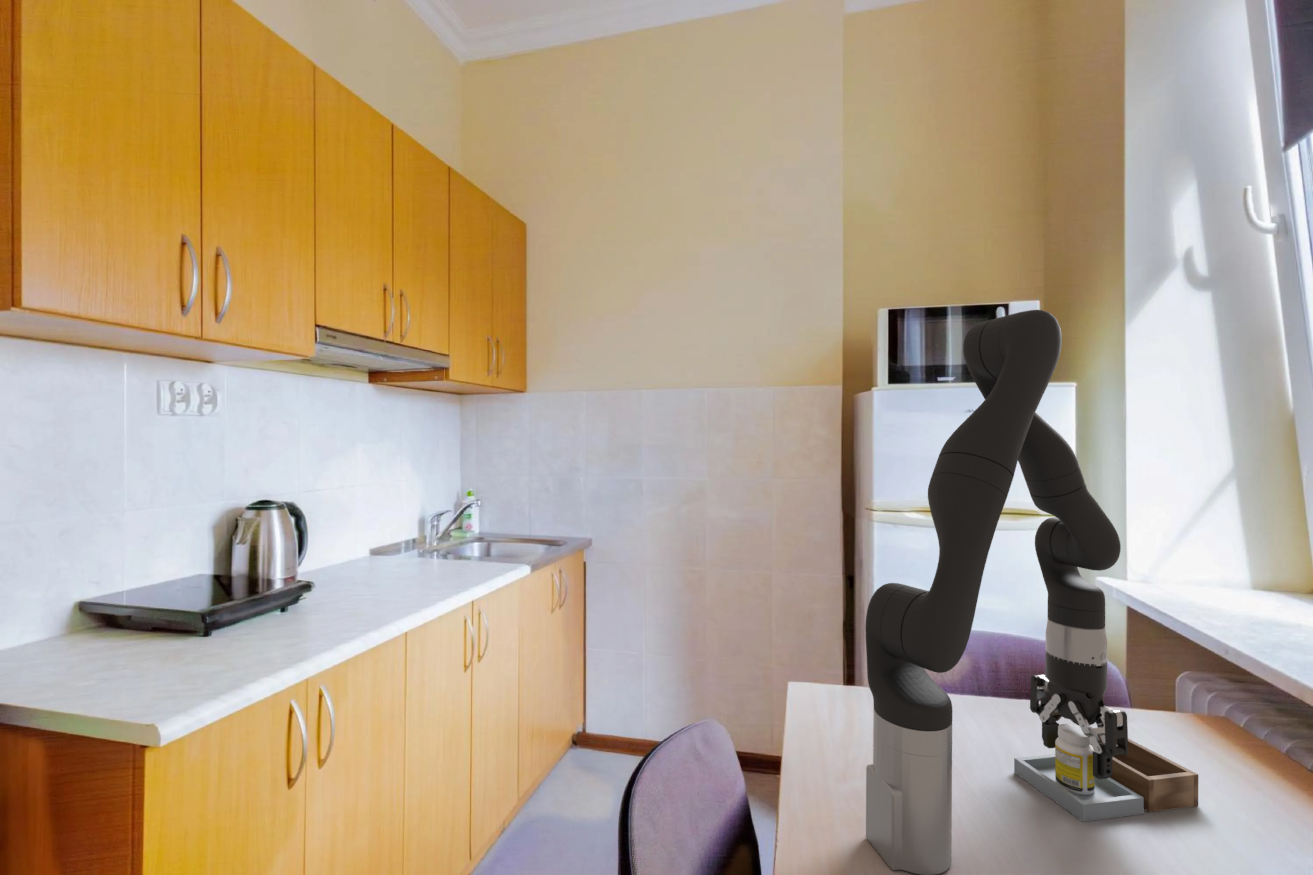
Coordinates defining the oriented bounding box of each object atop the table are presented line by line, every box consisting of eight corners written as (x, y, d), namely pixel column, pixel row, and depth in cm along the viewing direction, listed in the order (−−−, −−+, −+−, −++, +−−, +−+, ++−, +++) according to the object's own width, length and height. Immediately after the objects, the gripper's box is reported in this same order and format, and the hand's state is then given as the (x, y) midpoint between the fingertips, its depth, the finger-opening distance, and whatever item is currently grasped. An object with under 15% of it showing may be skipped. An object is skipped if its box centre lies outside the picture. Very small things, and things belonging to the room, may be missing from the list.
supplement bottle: (1081, 778, 88) (1081, 723, 88) (1102, 796, 84) (1102, 738, 84) (1048, 776, 89) (1048, 721, 89) (1067, 794, 84) (1067, 736, 84)
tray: (1083, 821, 79) (1083, 804, 79) (1014, 772, 91) (1014, 757, 91) (1143, 813, 81) (1143, 797, 81) (1068, 766, 93) (1068, 752, 93)
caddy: (1149, 811, 82) (1149, 780, 82) (1064, 759, 95) (1064, 732, 95) (1198, 805, 83) (1198, 774, 83) (1108, 755, 97) (1108, 728, 97)
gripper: (1016, 637, 93) (1015, 739, 93) (1099, 672, 79) (1098, 792, 79) (1055, 635, 94) (1055, 735, 94) (1144, 669, 80) (1144, 787, 80)
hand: (1075, 761), depth 86 cm, fingers open, 8 cm apart
